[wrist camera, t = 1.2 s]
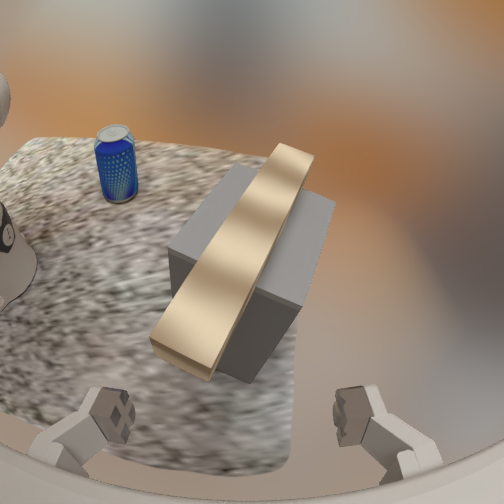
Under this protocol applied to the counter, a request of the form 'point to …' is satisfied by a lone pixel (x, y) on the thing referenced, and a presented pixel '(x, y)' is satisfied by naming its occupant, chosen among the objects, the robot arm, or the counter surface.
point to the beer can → (116, 163)
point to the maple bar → (230, 268)
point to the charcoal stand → (273, 277)
